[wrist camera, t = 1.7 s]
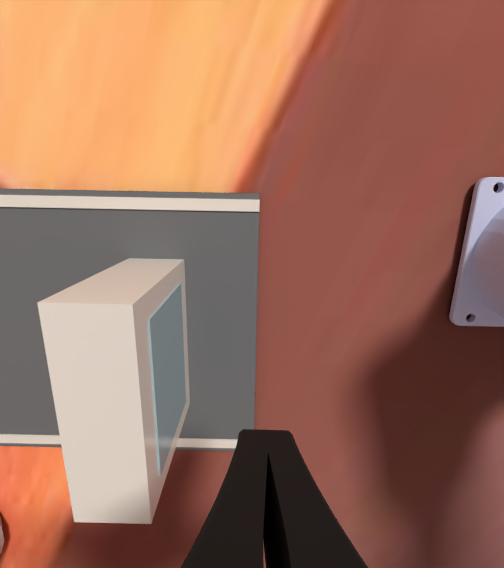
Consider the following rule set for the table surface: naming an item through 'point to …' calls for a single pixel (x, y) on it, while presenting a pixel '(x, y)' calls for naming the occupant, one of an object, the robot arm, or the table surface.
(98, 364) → the white rectangular block
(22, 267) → the mat
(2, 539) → the can
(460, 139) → the table surface
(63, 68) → the table surface
